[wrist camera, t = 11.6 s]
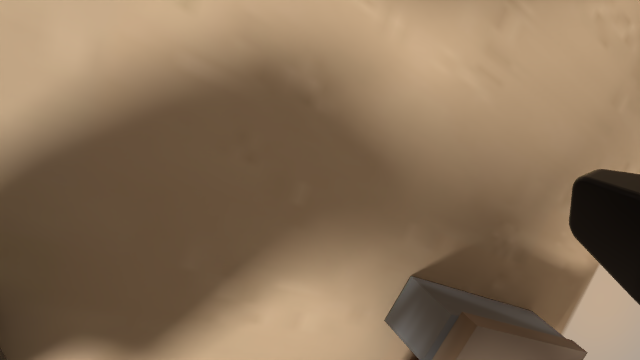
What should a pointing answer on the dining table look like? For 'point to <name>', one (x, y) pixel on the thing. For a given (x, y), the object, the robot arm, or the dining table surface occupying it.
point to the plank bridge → (472, 327)
